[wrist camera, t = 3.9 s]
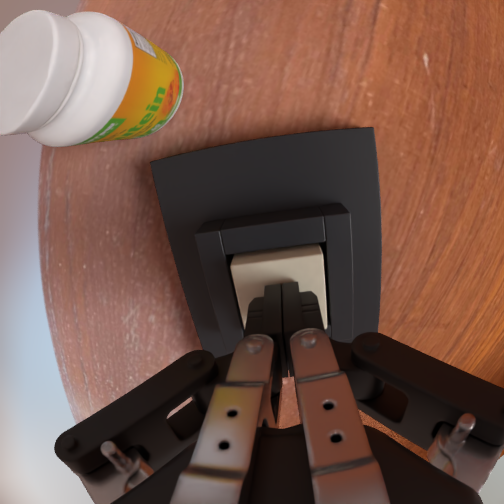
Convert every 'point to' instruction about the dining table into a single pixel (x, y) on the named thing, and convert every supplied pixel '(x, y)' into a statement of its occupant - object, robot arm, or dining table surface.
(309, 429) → the robot arm
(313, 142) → the light switch
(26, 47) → the supplement bottle
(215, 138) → the dining table surface
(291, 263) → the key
